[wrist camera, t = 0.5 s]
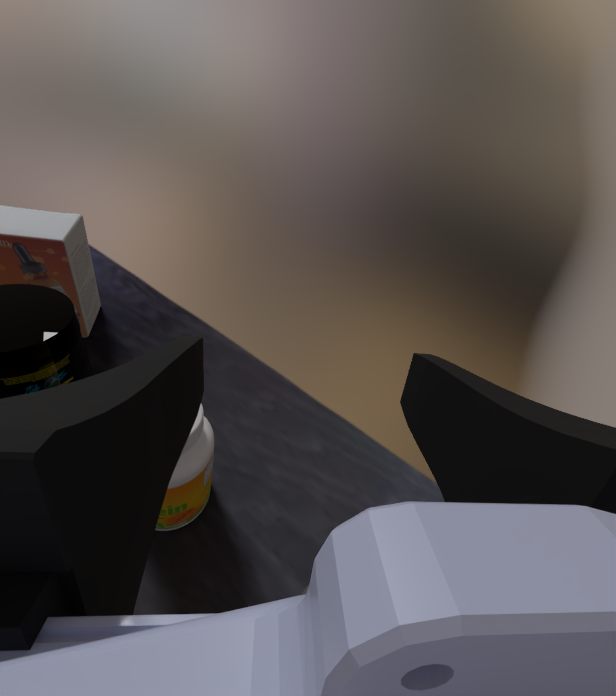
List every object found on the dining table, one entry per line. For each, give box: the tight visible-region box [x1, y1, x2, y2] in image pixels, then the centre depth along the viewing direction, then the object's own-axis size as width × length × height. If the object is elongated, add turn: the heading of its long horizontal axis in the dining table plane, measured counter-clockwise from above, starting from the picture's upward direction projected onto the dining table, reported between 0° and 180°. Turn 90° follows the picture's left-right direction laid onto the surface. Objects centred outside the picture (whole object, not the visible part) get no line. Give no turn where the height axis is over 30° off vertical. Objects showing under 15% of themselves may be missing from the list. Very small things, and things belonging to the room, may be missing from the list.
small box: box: [0, 205, 101, 338], centre depth 31 cm, size 8×6×10 cm
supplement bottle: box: [155, 404, 214, 531], centre depth 21 cm, size 5×5×10 cm
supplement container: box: [0, 284, 93, 399], centre depth 23 cm, size 7×7×10 cm
